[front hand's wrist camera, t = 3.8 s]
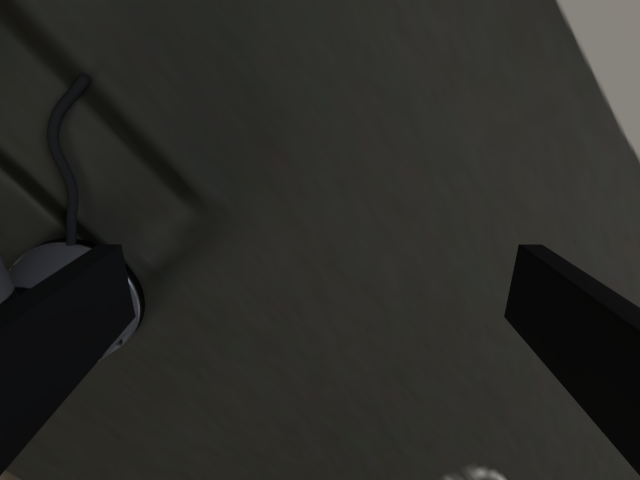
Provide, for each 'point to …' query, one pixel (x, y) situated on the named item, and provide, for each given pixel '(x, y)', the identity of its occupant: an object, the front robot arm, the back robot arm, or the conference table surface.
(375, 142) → the conference table surface
